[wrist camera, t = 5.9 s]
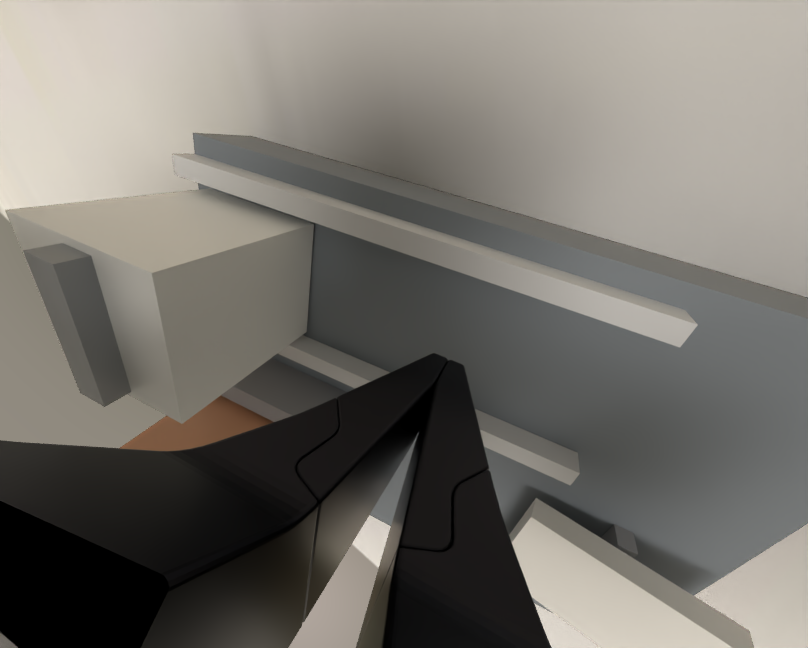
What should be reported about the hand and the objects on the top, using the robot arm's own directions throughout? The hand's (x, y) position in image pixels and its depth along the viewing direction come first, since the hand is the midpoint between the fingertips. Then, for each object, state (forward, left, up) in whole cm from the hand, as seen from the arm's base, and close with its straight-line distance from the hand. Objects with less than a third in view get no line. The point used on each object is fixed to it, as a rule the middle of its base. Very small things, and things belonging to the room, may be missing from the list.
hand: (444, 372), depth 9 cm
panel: (0, +4, -4) cm, 6 cm away
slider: (+7, 0, -2) cm, 7 cm away
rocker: (-7, +6, -1) cm, 10 cm away
